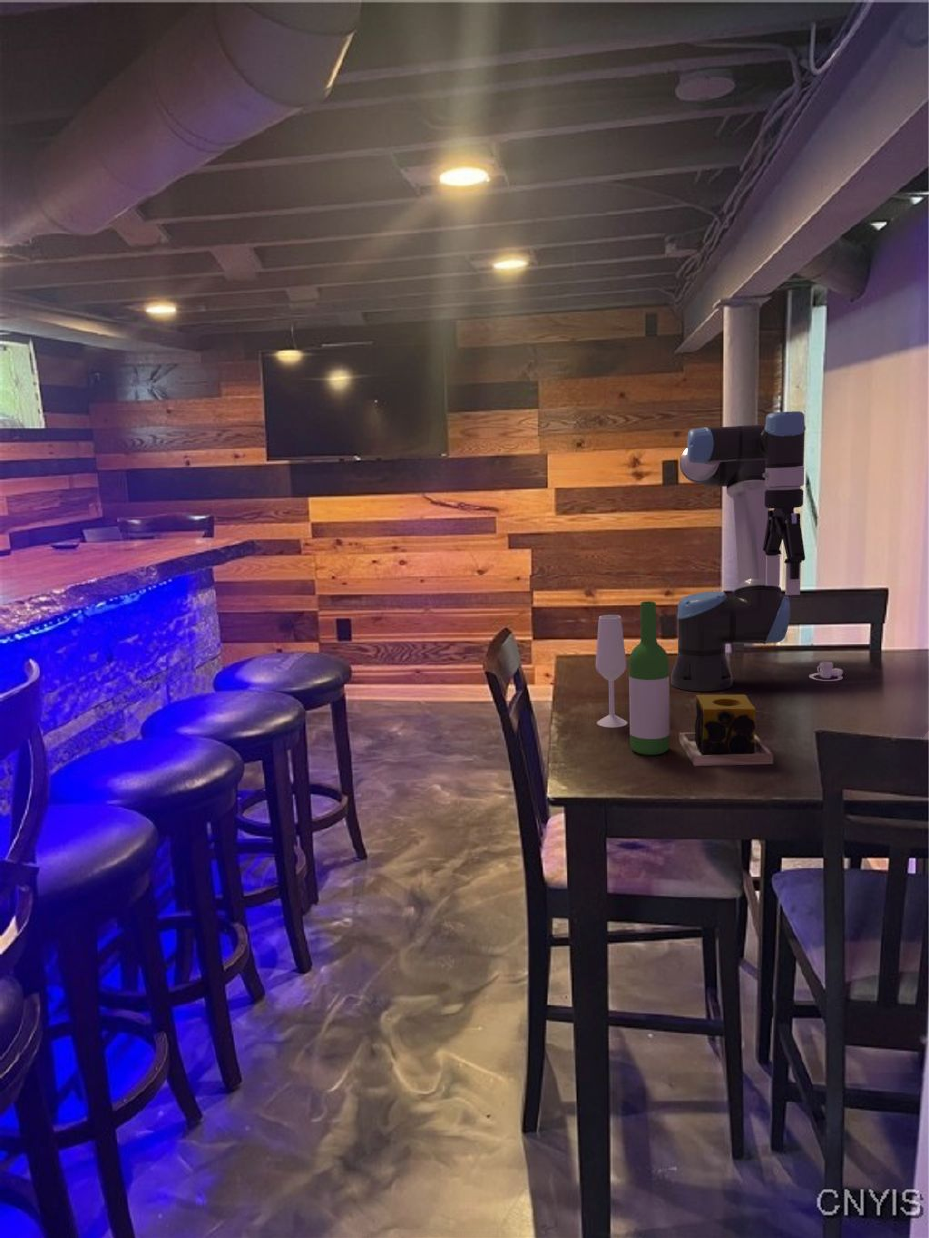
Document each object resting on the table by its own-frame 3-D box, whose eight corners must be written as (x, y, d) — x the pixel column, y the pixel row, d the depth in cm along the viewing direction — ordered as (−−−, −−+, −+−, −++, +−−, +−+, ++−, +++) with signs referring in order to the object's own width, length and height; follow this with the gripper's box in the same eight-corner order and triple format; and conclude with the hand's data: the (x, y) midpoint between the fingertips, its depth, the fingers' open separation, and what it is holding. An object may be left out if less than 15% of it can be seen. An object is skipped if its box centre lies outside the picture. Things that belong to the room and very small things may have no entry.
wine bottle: (645, 759, 165) (643, 607, 159) (622, 747, 172) (619, 602, 167) (677, 752, 168) (677, 602, 162) (654, 741, 175) (652, 598, 170)
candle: (694, 741, 172) (694, 694, 170) (745, 741, 171) (746, 693, 169) (701, 759, 162) (701, 708, 160) (755, 758, 161) (756, 708, 159)
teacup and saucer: (838, 674, 221) (838, 658, 220) (851, 681, 213) (851, 666, 212) (804, 675, 221) (804, 660, 221) (815, 683, 213) (816, 667, 213)
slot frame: (679, 741, 174) (679, 732, 174) (751, 738, 173) (751, 730, 173) (694, 765, 160) (694, 756, 160) (773, 763, 159) (773, 754, 159)
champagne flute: (591, 721, 190) (588, 616, 186) (616, 716, 193) (614, 612, 189) (607, 729, 184) (605, 620, 180) (633, 724, 187) (631, 617, 182)
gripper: (749, 487, 188) (748, 582, 192) (784, 491, 163) (782, 599, 167) (783, 485, 187) (782, 580, 191) (824, 489, 163) (821, 598, 167)
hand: (782, 590), depth 179 cm, fingers open, 13 cm apart
